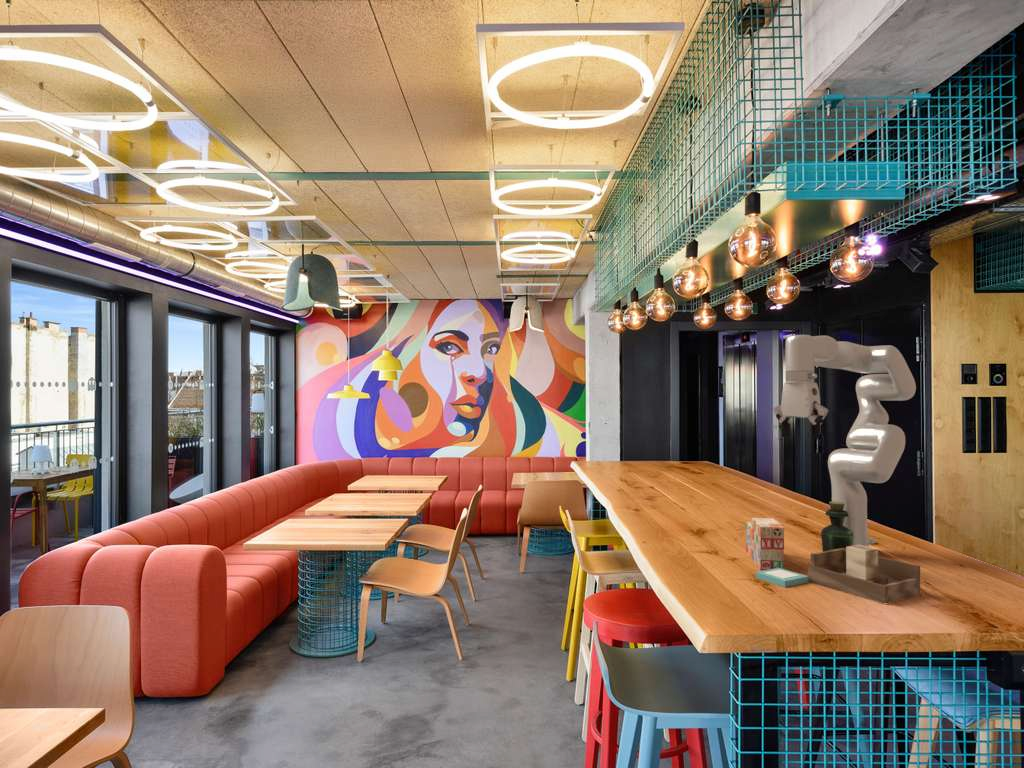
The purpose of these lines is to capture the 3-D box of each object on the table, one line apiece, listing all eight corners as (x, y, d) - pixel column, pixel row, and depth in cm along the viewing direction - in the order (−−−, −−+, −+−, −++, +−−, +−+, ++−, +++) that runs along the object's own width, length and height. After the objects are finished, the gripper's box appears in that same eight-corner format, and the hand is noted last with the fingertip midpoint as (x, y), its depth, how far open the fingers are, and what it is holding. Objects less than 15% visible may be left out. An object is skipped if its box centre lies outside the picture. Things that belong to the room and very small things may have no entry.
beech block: (858, 572, 160) (858, 544, 160) (878, 577, 155) (877, 548, 156) (846, 574, 157) (846, 546, 158) (865, 579, 153) (865, 551, 153)
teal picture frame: (778, 573, 169) (778, 567, 169) (808, 582, 161) (808, 575, 161) (755, 577, 165) (755, 571, 165) (784, 587, 157) (784, 580, 157)
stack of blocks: (745, 551, 193) (745, 511, 194) (767, 552, 192) (766, 512, 192) (760, 570, 172) (760, 525, 172) (784, 572, 171) (784, 526, 171)
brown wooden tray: (842, 574, 169) (842, 548, 169) (920, 595, 151) (920, 565, 151) (808, 581, 162) (807, 554, 162) (885, 604, 144) (885, 573, 144)
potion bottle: (815, 563, 179) (815, 500, 180) (843, 563, 179) (843, 500, 180) (830, 571, 171) (829, 505, 172) (859, 571, 171) (859, 505, 172)
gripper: (835, 377, 174) (835, 439, 174) (783, 379, 190) (783, 435, 189) (817, 377, 171) (817, 440, 170) (766, 378, 186) (766, 436, 186)
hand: (799, 437), depth 180 cm, fingers open, 9 cm apart
